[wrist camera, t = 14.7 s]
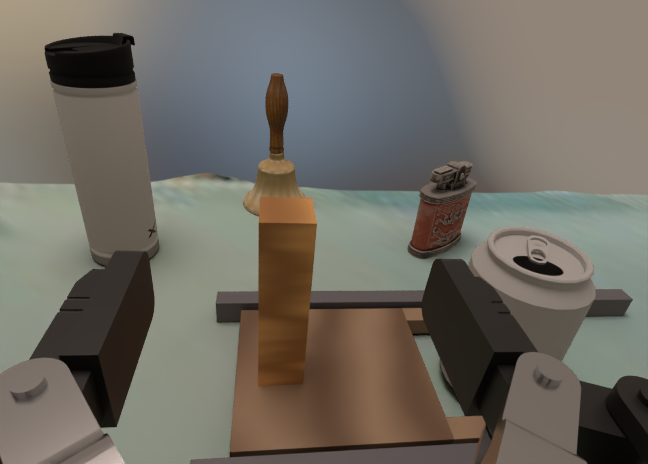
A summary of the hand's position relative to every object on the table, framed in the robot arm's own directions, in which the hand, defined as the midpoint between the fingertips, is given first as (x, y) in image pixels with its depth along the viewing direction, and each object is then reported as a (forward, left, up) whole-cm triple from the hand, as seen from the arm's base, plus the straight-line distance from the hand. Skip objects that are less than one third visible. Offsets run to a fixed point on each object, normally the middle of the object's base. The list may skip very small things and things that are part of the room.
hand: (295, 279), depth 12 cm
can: (+17, -9, -18) cm, 26 cm away
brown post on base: (+14, -3, -18) cm, 23 cm away
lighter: (+35, -1, -18) cm, 39 cm away
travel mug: (+17, +27, -18) cm, 36 cm away
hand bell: (+34, +19, -18) cm, 43 cm away
